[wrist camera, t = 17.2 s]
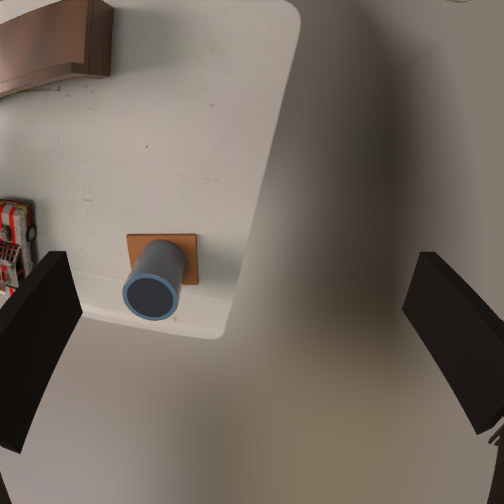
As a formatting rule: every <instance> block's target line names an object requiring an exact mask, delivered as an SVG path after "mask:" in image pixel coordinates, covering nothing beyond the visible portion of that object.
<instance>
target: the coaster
mask: <svg viewBox="0 0 504 504" xmlns="http://www.w3.org/2000/svg"><path fill="white" fill-rule="evenodd" d="M126 238H127V245H128V251H129V258H130V264H131V270H132V267H133V265H134V263H135V261H136V259H137V257H138V255H139V253H140V251H141V250H142V248H143V247H144V246H145V245H146V244H147V243H149V242H151V241H153V240H167V241H170V242H172V243H174V244H176V245H177V246H178V247H179V248H180V249H181V250H182V251H183V253H184V255H185V258H186V269H185V274H184V278H183V283H182V285H198V265H197V245H196V234H127V236H126Z"/></svg>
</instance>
